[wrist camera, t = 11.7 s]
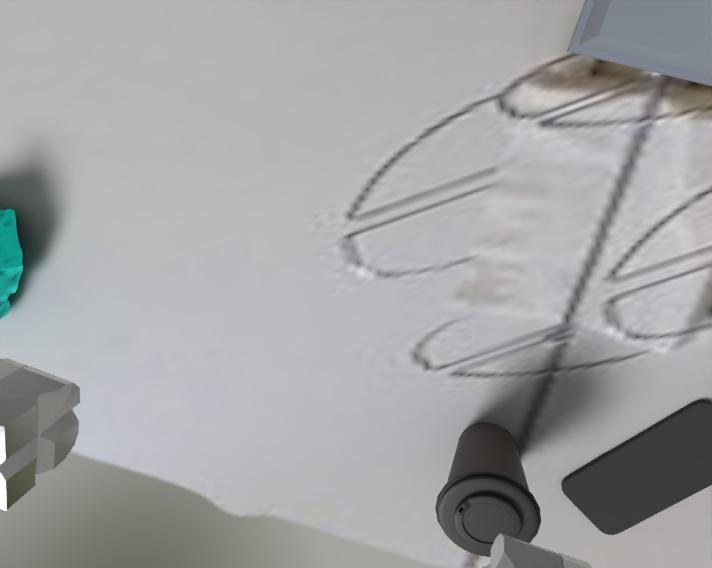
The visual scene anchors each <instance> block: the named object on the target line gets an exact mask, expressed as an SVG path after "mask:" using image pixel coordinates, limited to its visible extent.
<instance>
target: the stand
mask: <svg viewBox="0 0 712 568" xmlns="http://www.w3.org/2000/svg"><path fill="white" fill-rule="evenodd" d="M567 52H571V53H575V54H579V55H584V56H588V57H592V58H596V59H600V60H605V61H609V62H613V63H617V64H621V65H625V66H630V67H634V68H638V69H642V70H646V71H651V72H655V73H659V74H663V75H667V76H671V77H676V78H680V79H684V80H688V81H692V82H697V83H701V84H705V85H709V86H712V0H585V3H584V6H583V8H582V11H581V14H580V17H579V20H578V23H577V26H576V28H575V31H574V34H573V37H572V40H571V43H570V46H569V48H568V51H567Z"/></svg>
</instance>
